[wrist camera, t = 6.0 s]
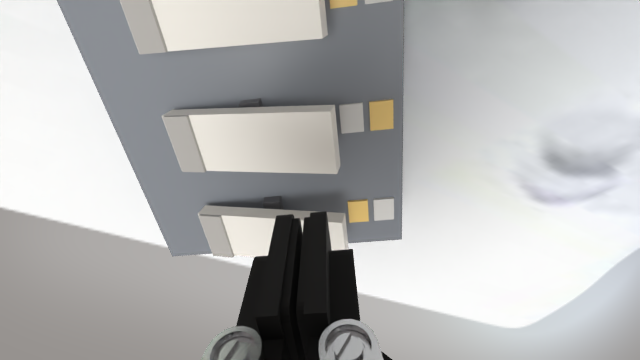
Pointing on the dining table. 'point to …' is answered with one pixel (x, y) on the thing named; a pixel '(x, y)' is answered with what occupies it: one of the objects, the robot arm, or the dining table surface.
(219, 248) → the rocker
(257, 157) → the rocker
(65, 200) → the dining table surface
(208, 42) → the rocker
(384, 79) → the console
